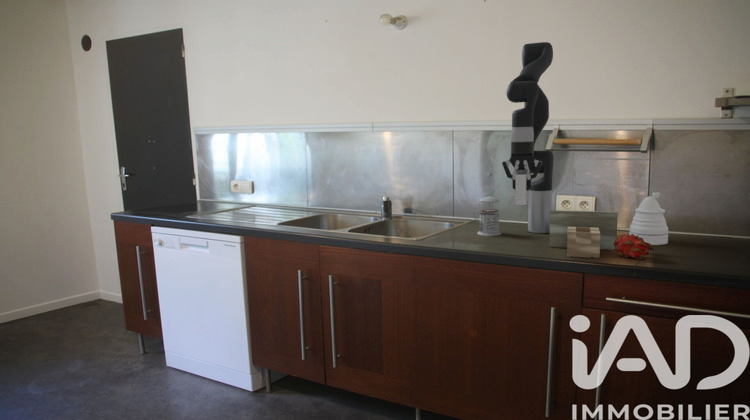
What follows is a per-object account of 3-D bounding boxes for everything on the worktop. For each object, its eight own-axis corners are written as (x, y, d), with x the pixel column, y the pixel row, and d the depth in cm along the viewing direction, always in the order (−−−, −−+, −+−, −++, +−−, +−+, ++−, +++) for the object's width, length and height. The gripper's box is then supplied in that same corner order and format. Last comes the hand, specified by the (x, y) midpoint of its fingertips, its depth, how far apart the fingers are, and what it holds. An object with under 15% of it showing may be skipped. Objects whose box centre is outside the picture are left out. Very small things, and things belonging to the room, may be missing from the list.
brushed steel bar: (517, 202, 194) (517, 168, 192) (527, 202, 192) (528, 168, 191) (515, 204, 187) (515, 169, 186) (525, 204, 186) (526, 169, 184)
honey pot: (663, 238, 204) (665, 190, 202) (671, 245, 192) (674, 194, 190) (626, 237, 208) (627, 190, 205) (632, 244, 196) (634, 194, 193)
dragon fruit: (610, 259, 180) (649, 269, 174) (607, 248, 174) (648, 258, 167) (617, 237, 183) (656, 245, 176) (615, 225, 176) (656, 234, 169)
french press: (506, 234, 220) (506, 172, 217) (481, 237, 216) (482, 174, 212) (492, 230, 229) (492, 171, 226) (468, 233, 225) (468, 172, 222)
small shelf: (549, 246, 196) (550, 210, 194) (615, 248, 189) (617, 211, 187) (547, 255, 182) (548, 217, 180) (619, 258, 174) (621, 218, 172)
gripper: (544, 139, 188) (543, 189, 190) (502, 140, 193) (502, 188, 195) (543, 140, 181) (542, 191, 183) (499, 141, 186) (499, 191, 188)
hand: (521, 189), depth 189 cm, fingers closed on brushed steel bar, 3 cm apart
